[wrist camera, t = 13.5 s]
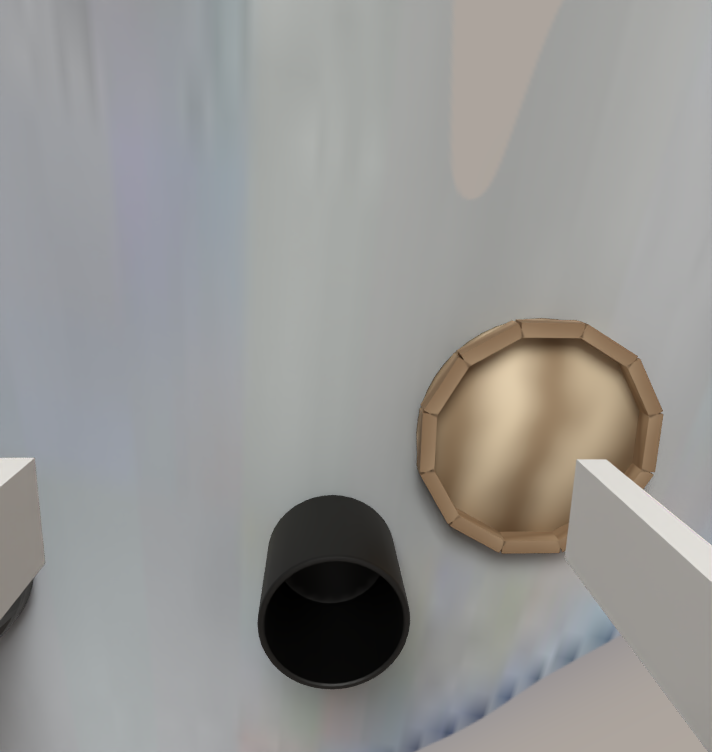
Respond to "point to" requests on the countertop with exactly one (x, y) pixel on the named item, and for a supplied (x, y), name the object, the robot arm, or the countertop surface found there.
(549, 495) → the tray
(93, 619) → the countertop surface
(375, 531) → the mug
